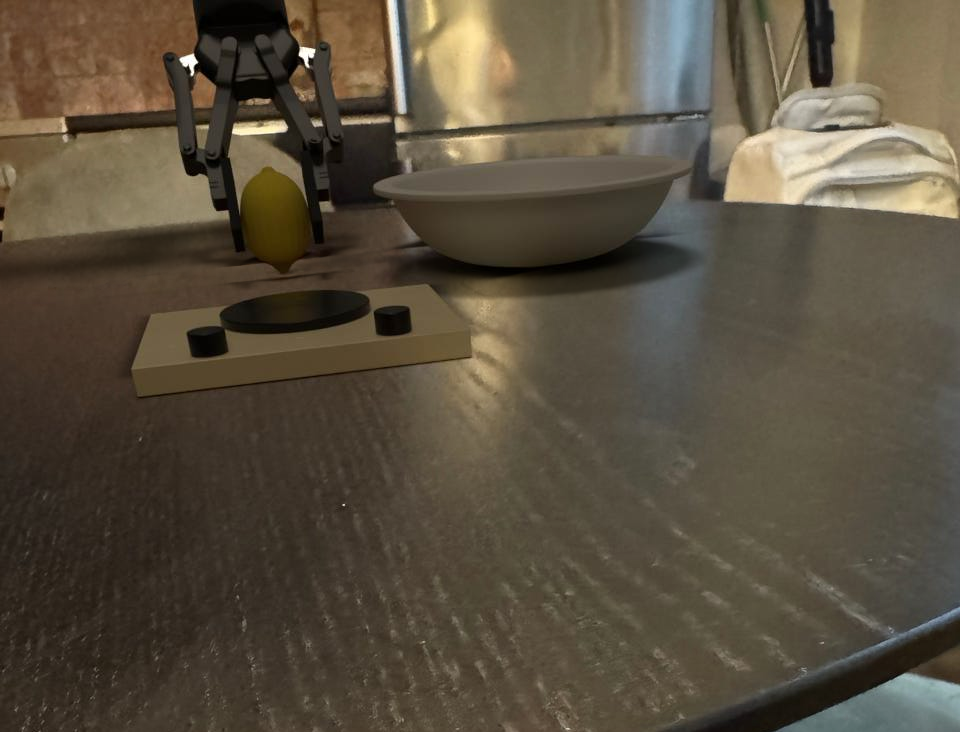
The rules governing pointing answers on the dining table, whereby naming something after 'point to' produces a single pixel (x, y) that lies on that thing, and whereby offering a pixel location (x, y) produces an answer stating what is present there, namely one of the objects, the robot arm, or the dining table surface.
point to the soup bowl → (533, 206)
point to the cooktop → (296, 338)
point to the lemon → (275, 219)
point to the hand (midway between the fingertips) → (278, 236)
